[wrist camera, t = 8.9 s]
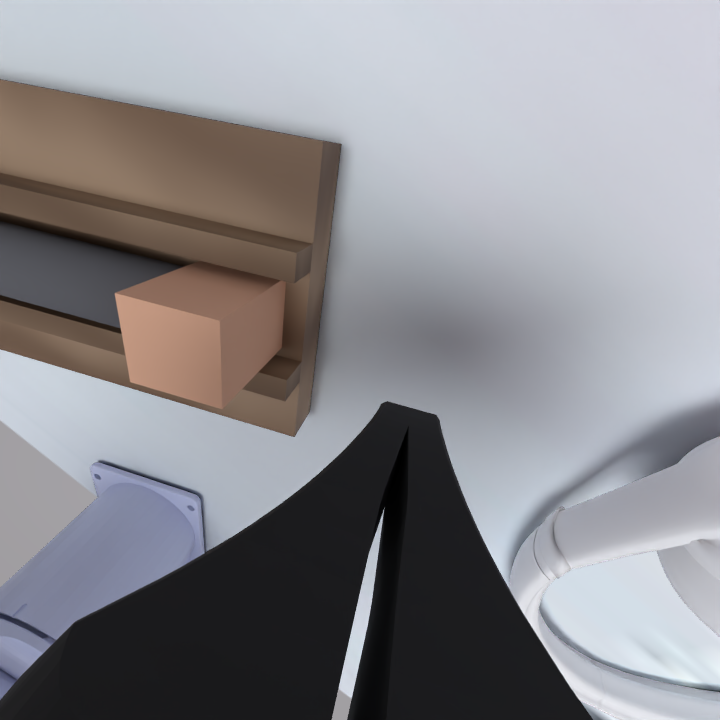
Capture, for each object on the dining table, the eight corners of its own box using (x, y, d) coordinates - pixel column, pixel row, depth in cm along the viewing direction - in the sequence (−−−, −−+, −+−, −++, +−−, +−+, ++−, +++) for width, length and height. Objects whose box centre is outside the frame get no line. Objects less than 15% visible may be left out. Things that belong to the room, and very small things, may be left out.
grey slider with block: (281, 347, 15) (222, 409, 11) (-49, 259, 17) (-192, 286, 14) (286, 277, 14) (220, 320, 10) (-77, 189, 16) (-245, 198, 12)
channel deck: (309, 412, 19) (280, 459, 16) (-73, 301, 22) (-158, 324, 19) (341, 144, 13) (305, 138, 10) (-189, 43, 16) (-338, 16, 13)
